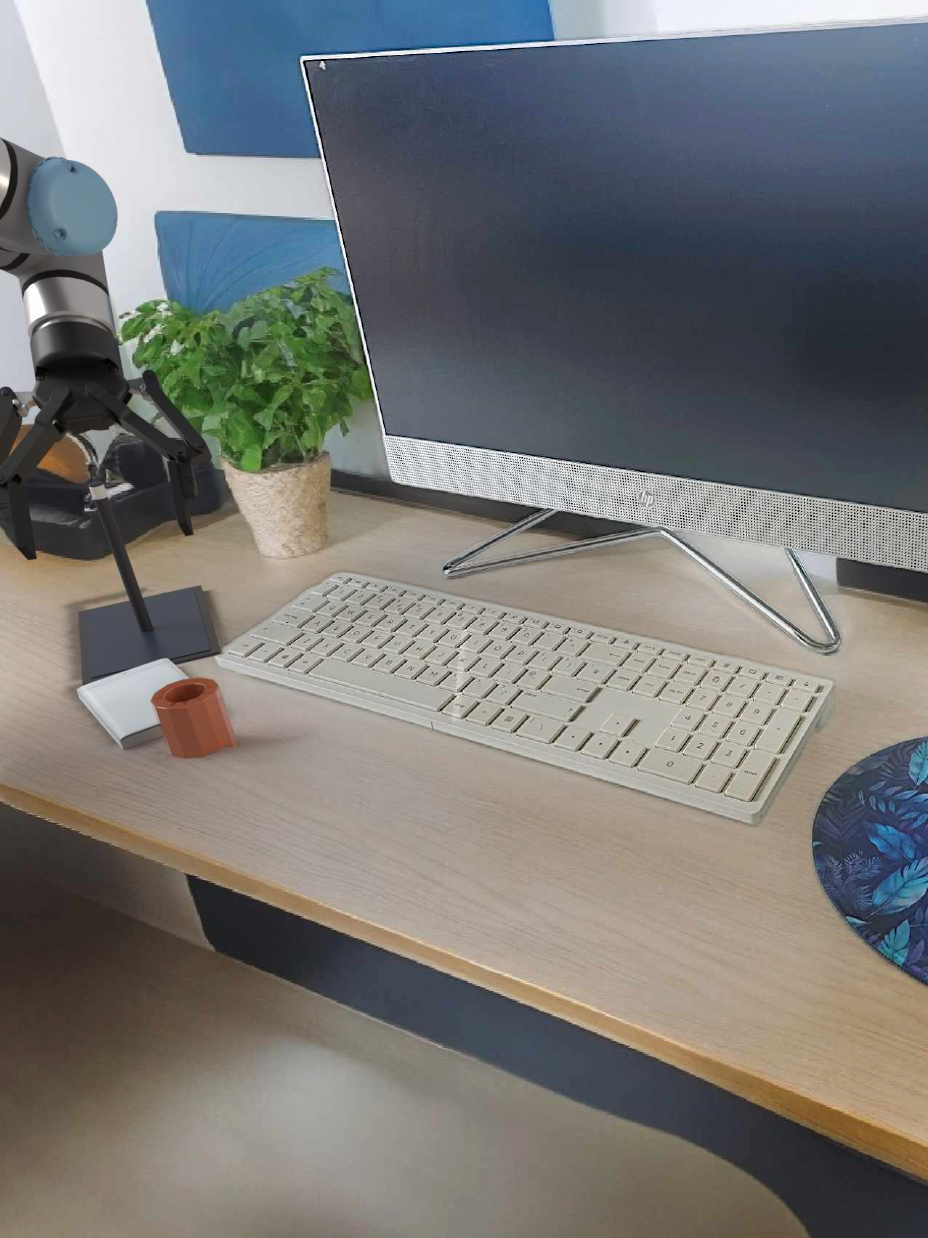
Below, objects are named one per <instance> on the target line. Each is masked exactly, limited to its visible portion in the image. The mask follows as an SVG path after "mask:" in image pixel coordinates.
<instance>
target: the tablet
mask: <svg viewBox="0 0 928 1238" xmlns="http://www.w3.org/2000/svg"><path fill="white" fill-rule="evenodd" d="M142 597H143V596H142ZM143 600H144V603H145V606H146V609H147V611H148V614H149V617H150V620H151V623H152V626H153V629H151V630H149V631H145V632H142V631H140V629H139V626H138V623H137V621H136V618H135V615H134V612H133V609H132V606H131V604H130V601H129V600H125V601H121V602H116V603H111V604H107V605H103V606H98V607H94V608H89V609H84V610H80V611H79V610H78V612H77V619H78V620H77V621H78V635H79V651H80V652H79V653H80V668H81V680H82V681H81V683H82V684H81V686H83V685H86V684H89V683H92V682H95V681H97V680H100V679H103V678H106V677H109V676H112V675H115V674H118V673H121V672H124V671H127V670H130V669H133V668H136V667H139V666H142V665H145V664H147V663H150V662H154V661H157V660H159V659H164V658H168V659H169V660H170V661H171V662H173V663H174V664H175V665H176V666H177V665H180V664H184V663H189V662H192V661H196V660H197V661H198V660H201V659H205V658H210V657H214V656H217V655H221V654H222V653H221V649H220V645H219V641H218V638H217V635H216V632H215V628H214V624H213V621H212V617H211V614H210V611H209V607H208V604H207V600H206V597H205V593H204V590H203V587H202V585H201V584H199V585H195V586H190V587H185V588H181V589H176V590H172V591H171V590H170V591H167V592H162V593H157V594H152V595H149V596H144V597H143Z"/></svg>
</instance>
